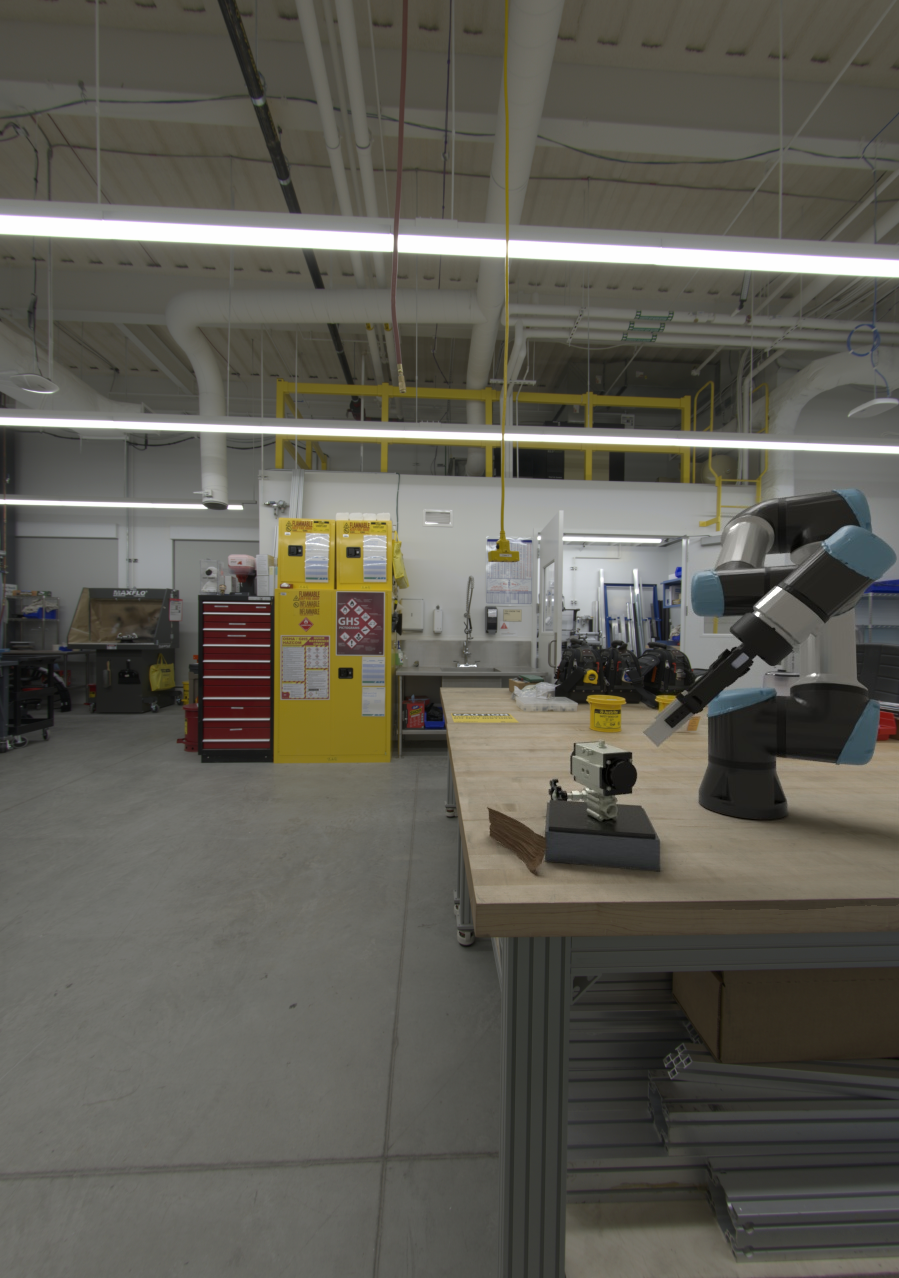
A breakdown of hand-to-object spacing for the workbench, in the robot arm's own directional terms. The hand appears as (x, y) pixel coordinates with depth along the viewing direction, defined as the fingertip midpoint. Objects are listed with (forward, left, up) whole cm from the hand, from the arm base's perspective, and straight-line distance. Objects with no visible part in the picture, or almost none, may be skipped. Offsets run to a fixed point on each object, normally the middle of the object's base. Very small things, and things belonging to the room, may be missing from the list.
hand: (655, 731), depth 76 cm
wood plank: (+21, +2, -19) cm, 29 cm away
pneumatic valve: (+8, -2, -14) cm, 17 cm away
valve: (+10, -19, -19) cm, 29 cm away
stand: (+8, -3, -19) cm, 21 cm away
